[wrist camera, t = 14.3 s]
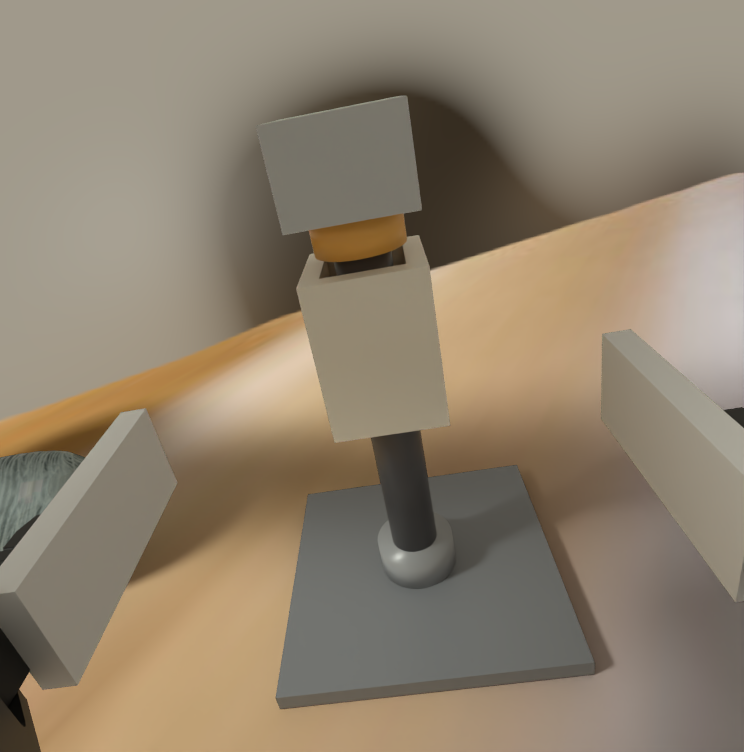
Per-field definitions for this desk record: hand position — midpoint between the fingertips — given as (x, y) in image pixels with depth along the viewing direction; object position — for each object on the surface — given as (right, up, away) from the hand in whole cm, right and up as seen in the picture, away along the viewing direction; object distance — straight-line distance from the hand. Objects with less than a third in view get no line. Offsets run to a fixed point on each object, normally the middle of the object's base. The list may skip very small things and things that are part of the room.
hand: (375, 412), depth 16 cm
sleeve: (+1, 0, +10) cm, 10 cm away
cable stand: (+3, -10, +15) cm, 18 cm away
